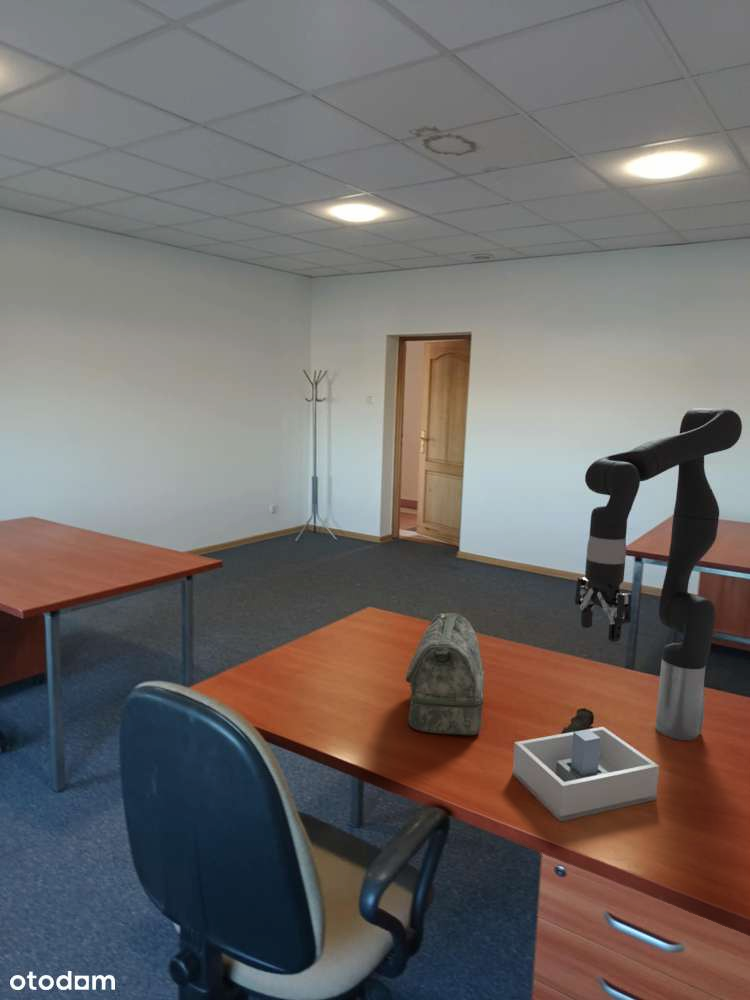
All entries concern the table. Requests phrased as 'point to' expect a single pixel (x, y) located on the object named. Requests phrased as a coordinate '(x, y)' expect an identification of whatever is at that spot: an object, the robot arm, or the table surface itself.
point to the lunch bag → (447, 678)
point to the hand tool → (580, 721)
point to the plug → (585, 752)
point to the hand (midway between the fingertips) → (599, 633)
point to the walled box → (573, 796)
